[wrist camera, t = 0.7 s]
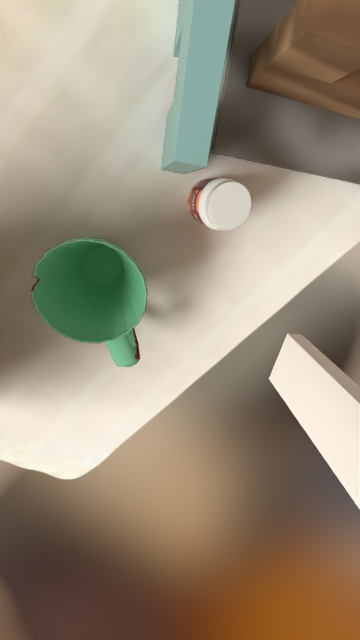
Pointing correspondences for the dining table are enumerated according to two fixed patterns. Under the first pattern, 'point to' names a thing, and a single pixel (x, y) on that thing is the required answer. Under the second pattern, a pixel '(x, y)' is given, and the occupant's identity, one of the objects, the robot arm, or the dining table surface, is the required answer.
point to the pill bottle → (219, 203)
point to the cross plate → (196, 82)
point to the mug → (92, 295)
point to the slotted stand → (294, 87)
